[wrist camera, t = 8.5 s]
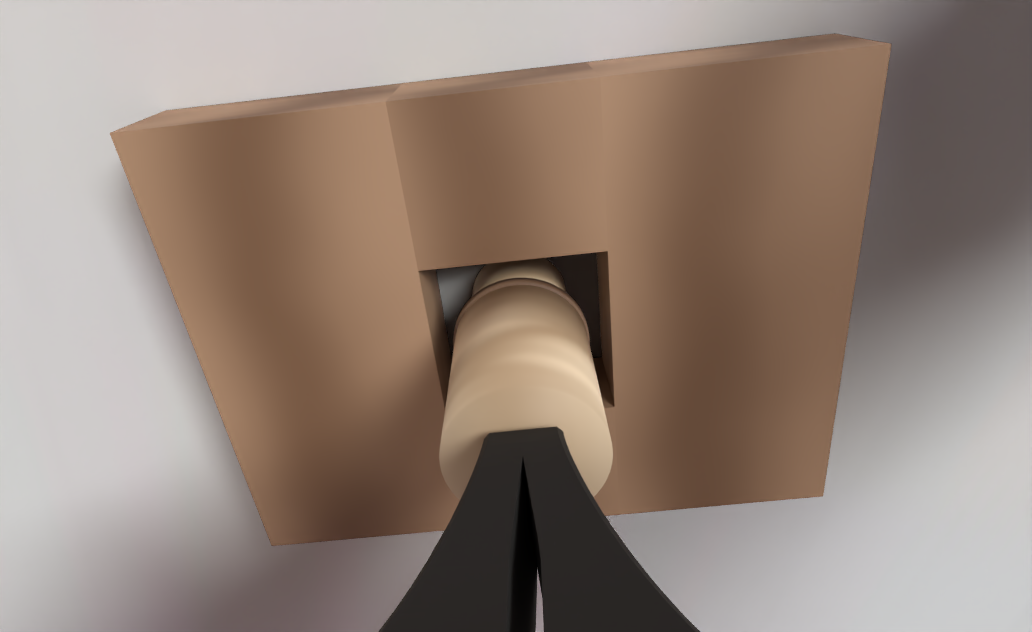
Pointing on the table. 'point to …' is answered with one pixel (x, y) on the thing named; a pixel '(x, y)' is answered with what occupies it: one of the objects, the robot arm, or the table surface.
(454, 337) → the peg
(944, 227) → the table surface
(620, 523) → the table surface
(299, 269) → the board
